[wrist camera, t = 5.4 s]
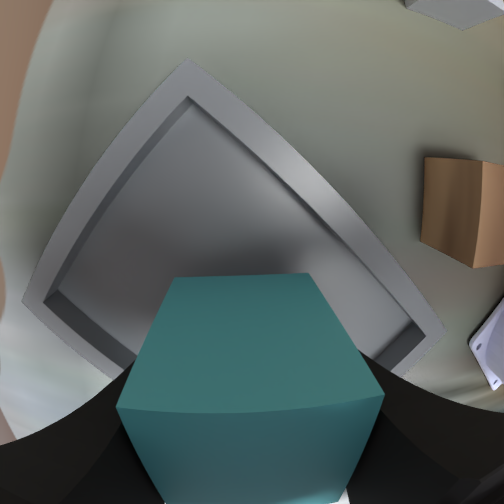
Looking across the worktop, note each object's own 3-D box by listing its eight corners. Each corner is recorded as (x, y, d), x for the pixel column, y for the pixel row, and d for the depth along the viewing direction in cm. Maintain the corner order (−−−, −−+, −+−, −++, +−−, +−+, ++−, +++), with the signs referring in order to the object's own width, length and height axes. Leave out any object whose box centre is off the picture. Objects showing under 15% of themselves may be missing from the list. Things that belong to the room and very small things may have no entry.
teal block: (308, 272, 10) (385, 394, 4) (300, 375, 11) (338, 501, 6) (174, 277, 10) (115, 407, 4) (189, 380, 11) (170, 510, 5)
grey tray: (427, 313, 14) (447, 330, 12) (272, 441, 16) (276, 465, 14) (194, 73, 10) (187, 57, 8) (42, 284, 12) (21, 301, 10)
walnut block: (477, 165, 12) (532, 173, 8) (472, 238, 13) (523, 261, 9) (423, 157, 11) (482, 161, 8) (419, 240, 13) (472, 268, 9)
